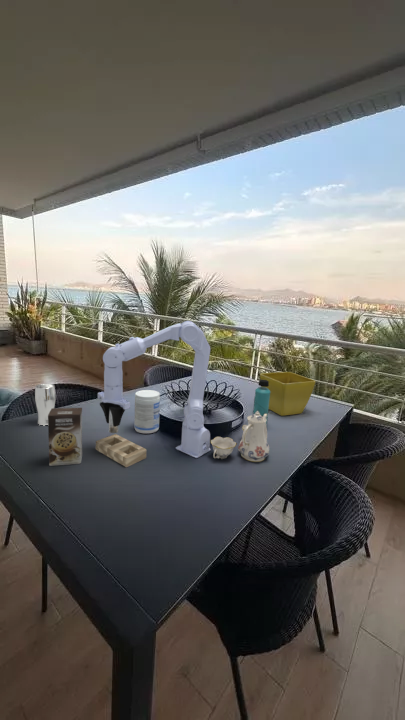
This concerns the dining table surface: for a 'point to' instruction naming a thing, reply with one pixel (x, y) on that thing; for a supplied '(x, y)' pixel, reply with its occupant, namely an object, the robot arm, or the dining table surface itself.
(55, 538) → the dining table surface
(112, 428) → the peg
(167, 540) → the dining table surface
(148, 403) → the supplement tub
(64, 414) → the coffee box
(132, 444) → the hole block
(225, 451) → the chinaware
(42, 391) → the beer glass
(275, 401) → the flower pot
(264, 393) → the beverage bottle
